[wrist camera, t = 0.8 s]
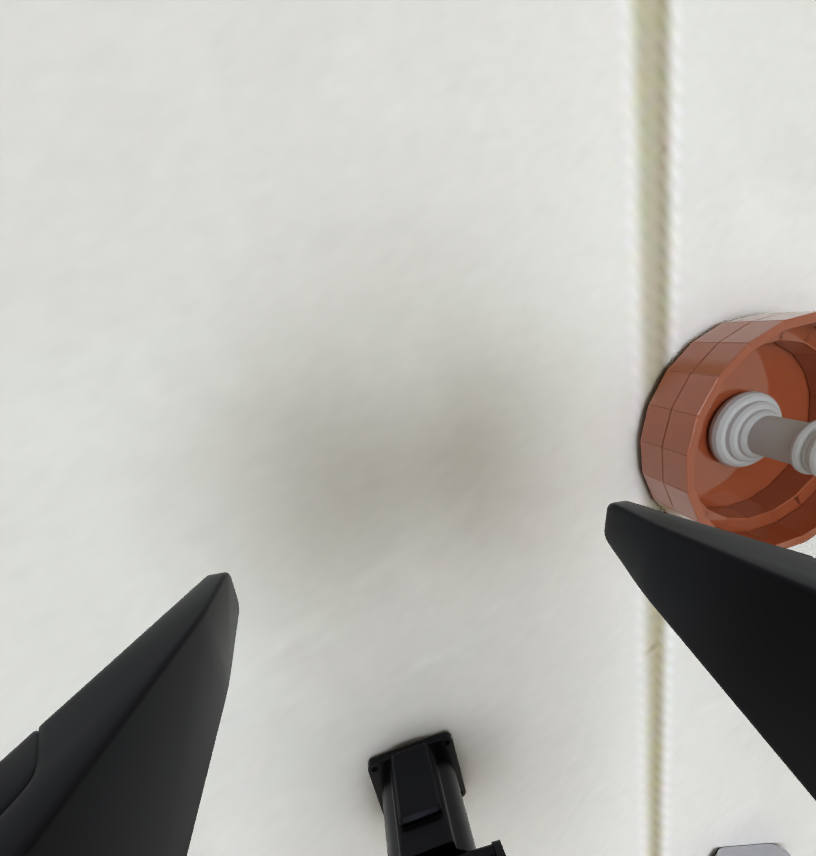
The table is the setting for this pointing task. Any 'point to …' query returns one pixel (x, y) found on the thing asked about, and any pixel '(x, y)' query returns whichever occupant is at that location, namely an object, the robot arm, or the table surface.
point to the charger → (753, 850)
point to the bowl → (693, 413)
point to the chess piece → (761, 434)
